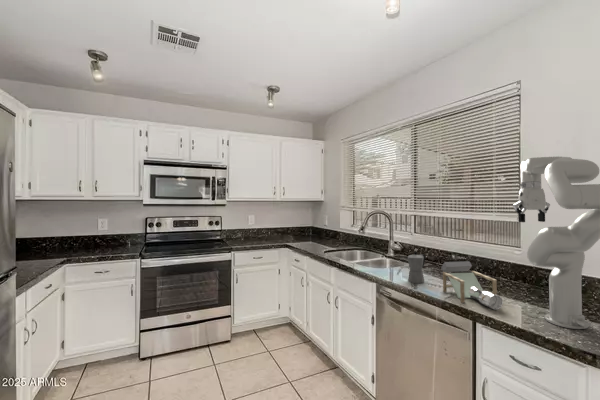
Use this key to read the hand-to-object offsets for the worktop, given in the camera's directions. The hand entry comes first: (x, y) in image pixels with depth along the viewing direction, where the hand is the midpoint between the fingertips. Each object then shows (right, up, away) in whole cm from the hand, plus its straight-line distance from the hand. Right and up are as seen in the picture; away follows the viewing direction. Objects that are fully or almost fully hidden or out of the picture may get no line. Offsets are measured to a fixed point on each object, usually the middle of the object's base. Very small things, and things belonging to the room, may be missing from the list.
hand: (531, 221), depth 137 cm
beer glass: (-23, -36, +7) cm, 43 cm away
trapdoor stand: (-24, -39, +10) cm, 47 cm away
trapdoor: (-24, -34, +16) cm, 44 cm away
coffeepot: (-39, -39, +39) cm, 67 cm away
